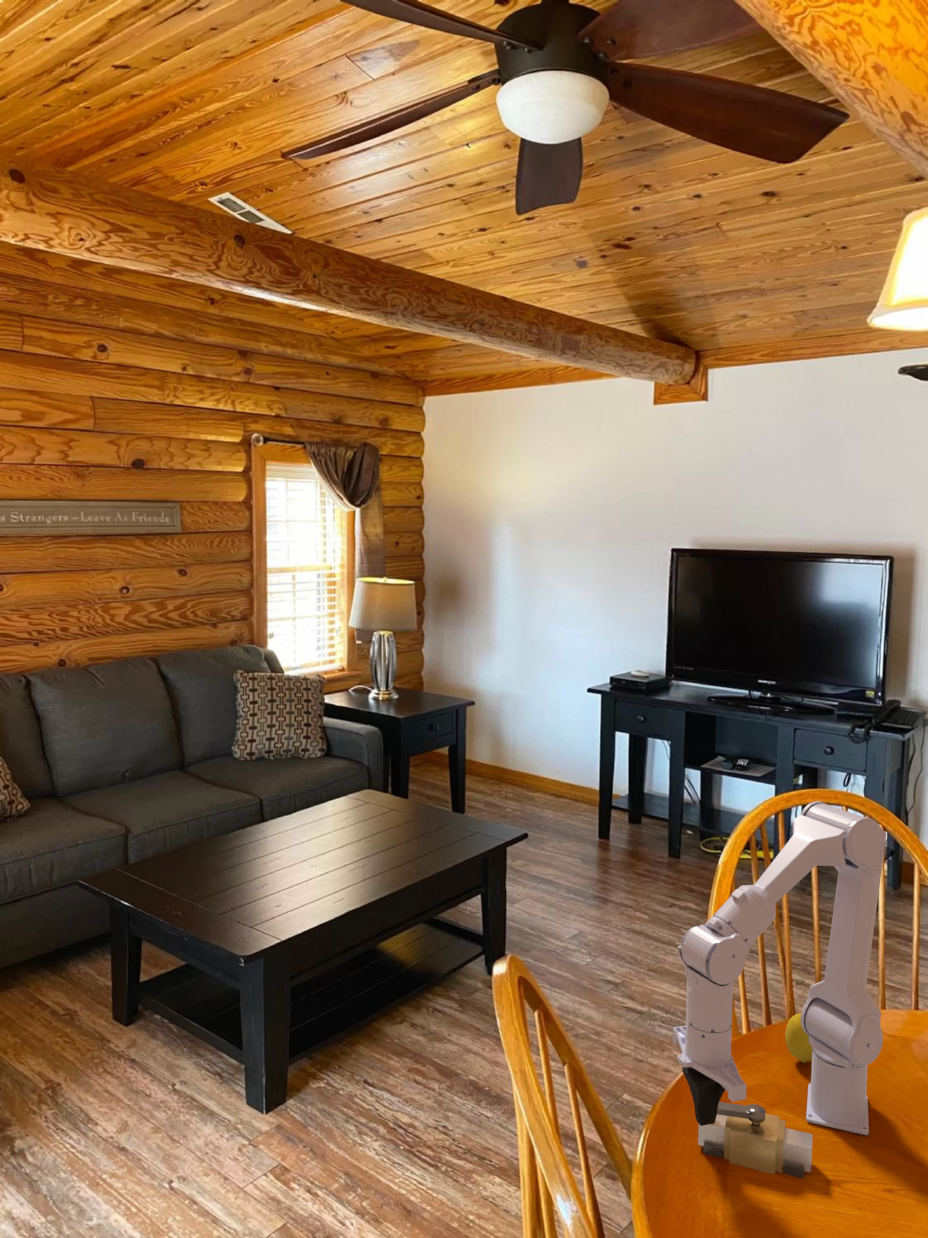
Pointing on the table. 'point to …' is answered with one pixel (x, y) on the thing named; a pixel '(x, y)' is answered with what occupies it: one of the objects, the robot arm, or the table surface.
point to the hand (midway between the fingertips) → (705, 1122)
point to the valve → (758, 1144)
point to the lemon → (798, 1040)
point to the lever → (742, 1111)
